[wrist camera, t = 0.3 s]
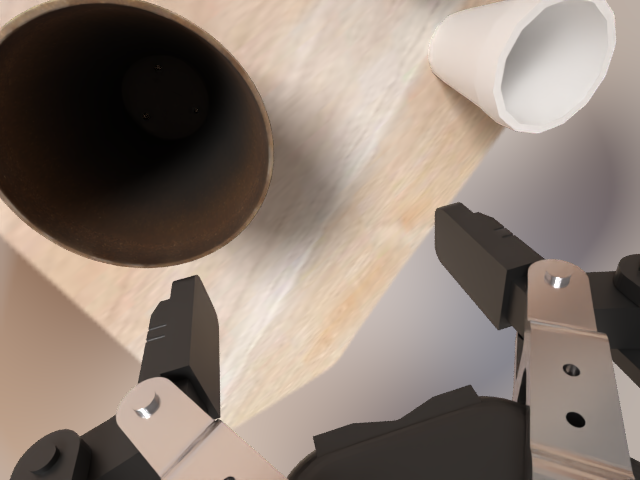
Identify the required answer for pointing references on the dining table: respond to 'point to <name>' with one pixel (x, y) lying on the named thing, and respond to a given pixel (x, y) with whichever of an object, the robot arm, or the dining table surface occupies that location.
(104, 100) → the plant pot
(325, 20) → the dining table surface
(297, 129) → the dining table surface
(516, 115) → the foam cup
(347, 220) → the dining table surface
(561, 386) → the robot arm
